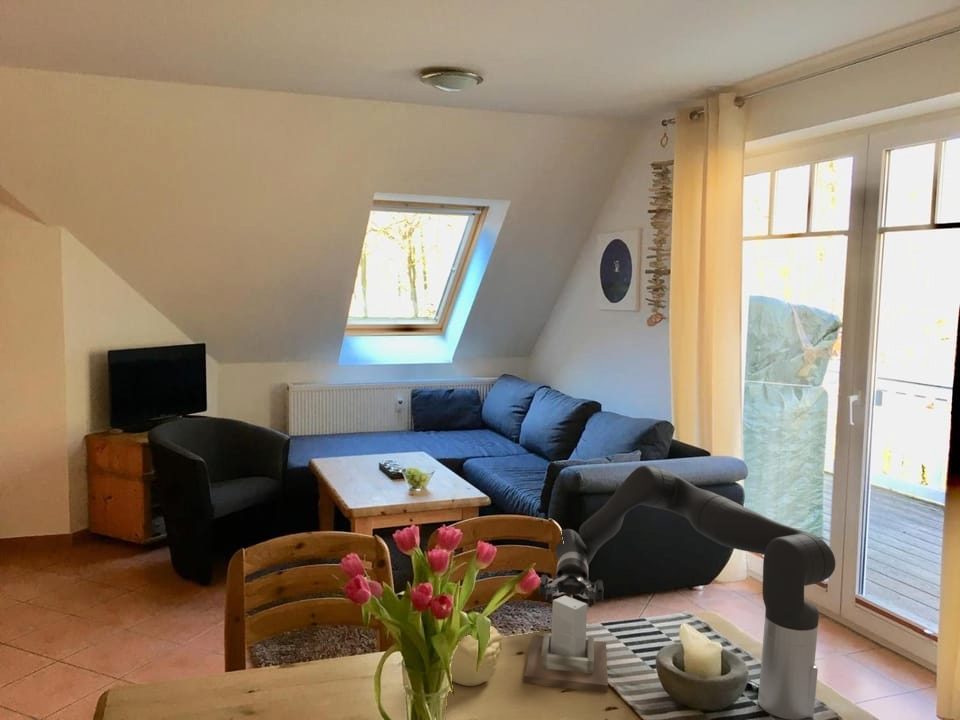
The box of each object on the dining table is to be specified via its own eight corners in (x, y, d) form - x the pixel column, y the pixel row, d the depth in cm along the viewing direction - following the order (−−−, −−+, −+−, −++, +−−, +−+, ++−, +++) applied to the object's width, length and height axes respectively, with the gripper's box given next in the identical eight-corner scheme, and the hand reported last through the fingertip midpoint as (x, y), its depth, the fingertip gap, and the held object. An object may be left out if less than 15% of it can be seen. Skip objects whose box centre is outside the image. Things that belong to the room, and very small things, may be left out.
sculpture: (479, 699, 146) (481, 644, 145) (427, 680, 152) (428, 627, 151) (509, 674, 155) (512, 622, 154) (459, 657, 162) (461, 607, 160)
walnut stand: (605, 648, 168) (606, 631, 167) (607, 692, 150) (608, 672, 150) (531, 641, 170) (532, 623, 169) (524, 683, 152) (525, 663, 152)
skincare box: (585, 660, 159) (588, 603, 158) (572, 666, 156) (575, 609, 155) (561, 649, 163) (564, 594, 162) (548, 655, 160) (551, 600, 159)
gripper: (543, 554, 185) (538, 580, 169) (603, 560, 183) (604, 587, 167) (541, 584, 186) (536, 613, 170) (601, 590, 184) (602, 620, 168)
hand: (570, 600), depth 168 cm, fingers open, 8 cm apart
